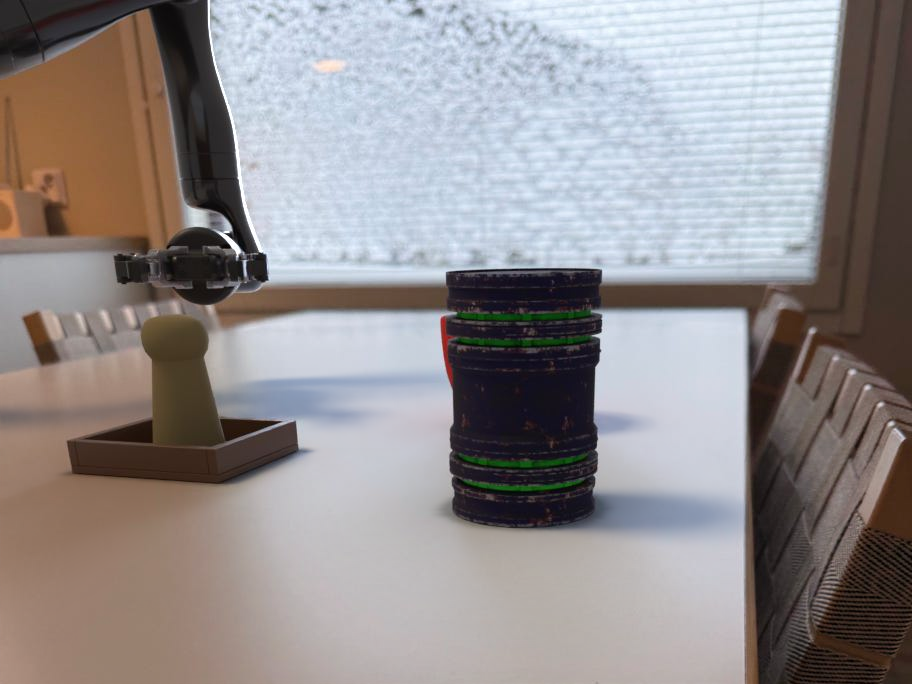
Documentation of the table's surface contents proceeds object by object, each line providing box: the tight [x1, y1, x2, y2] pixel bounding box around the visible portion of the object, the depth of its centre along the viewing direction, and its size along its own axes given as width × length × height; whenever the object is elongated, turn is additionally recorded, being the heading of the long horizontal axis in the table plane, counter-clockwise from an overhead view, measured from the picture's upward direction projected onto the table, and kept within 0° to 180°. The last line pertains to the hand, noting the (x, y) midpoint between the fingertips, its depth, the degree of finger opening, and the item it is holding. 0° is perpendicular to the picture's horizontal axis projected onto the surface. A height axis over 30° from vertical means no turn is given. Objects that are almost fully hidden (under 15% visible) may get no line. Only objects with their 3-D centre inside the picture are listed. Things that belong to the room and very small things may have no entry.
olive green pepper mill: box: [140, 313, 225, 447], centre depth 78 cm, size 6×6×11 cm
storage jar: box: [445, 267, 603, 528], centre depth 62 cm, size 10×10×15 cm
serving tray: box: [66, 416, 300, 484], centre depth 79 cm, size 14×13×3 cm
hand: (185, 269), depth 87 cm, fingers open, 8 cm apart
